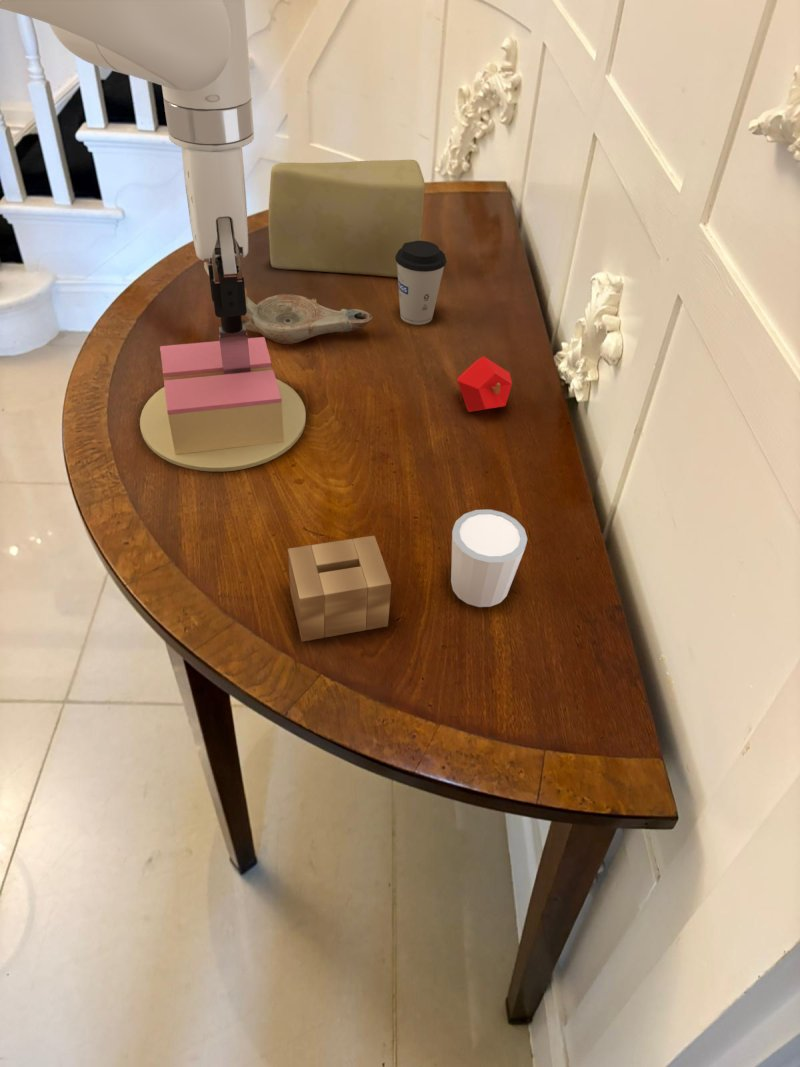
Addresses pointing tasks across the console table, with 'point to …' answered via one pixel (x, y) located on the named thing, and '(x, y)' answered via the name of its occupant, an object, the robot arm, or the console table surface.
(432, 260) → the coffee cup
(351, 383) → the console table surface
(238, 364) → the knife
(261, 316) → the oil lamp
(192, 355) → the cake
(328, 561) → the knife block
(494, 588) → the white cylinder
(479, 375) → the apple
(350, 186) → the cheese
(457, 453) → the console table surface
